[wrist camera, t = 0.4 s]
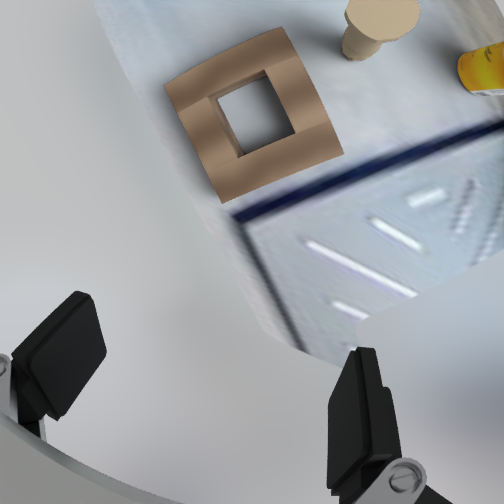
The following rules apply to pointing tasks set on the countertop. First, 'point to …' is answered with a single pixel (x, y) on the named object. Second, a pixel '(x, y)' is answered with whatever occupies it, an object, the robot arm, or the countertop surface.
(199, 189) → the countertop surface
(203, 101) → the keyed socket block
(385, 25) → the tan flared peg
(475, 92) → the beer can
